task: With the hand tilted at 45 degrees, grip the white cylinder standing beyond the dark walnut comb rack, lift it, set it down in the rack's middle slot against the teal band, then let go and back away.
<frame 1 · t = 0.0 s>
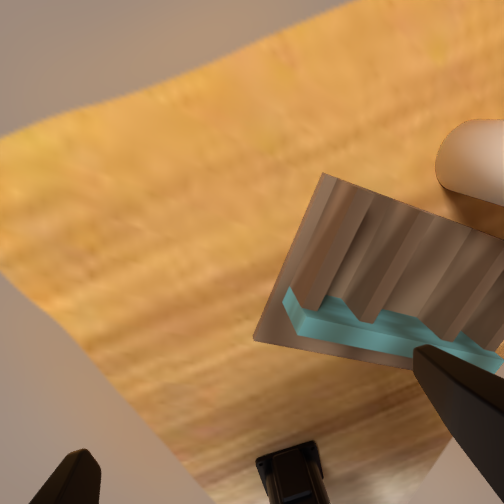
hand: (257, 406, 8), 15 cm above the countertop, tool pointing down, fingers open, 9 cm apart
white cylinder: (467, 156, 22), on the countertop
comb rack: (399, 275, 26), on the countertop
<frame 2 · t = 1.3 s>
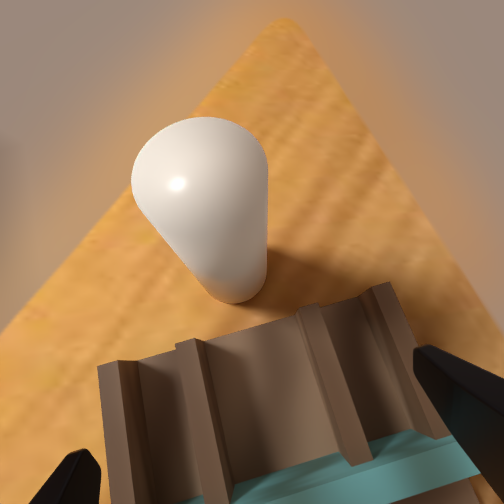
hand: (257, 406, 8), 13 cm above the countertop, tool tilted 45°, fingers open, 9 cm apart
white cylinder: (233, 270, 24), on the countertop
comb rack: (272, 412, 20), on the countertop
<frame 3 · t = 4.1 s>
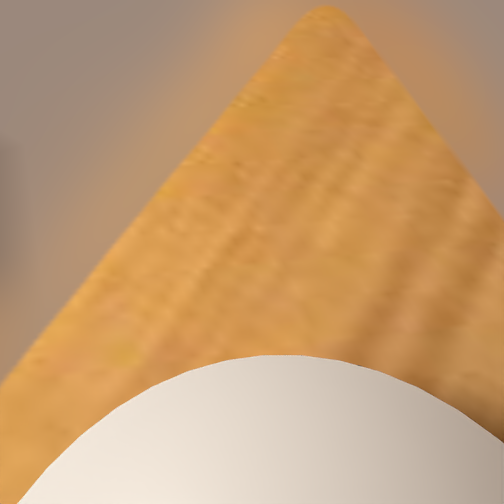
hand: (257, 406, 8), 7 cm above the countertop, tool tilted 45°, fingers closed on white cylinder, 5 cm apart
white cylinder: (269, 420, 14), on the countertop, touching gripper
when the fingers open (9 cm above the countertop, at t = 8.4 s): white cylinder drops 1 cm, resting on comb rack.
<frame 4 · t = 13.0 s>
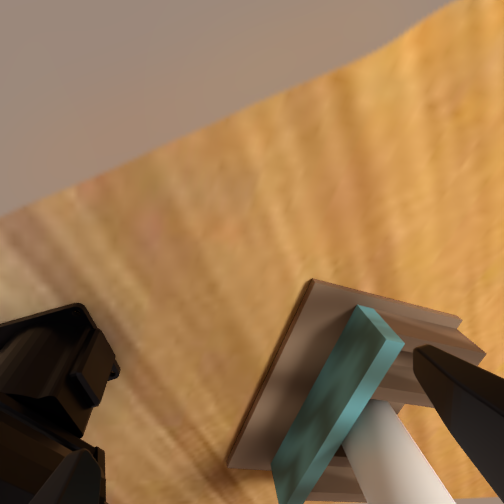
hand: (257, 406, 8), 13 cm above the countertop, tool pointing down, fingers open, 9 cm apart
white cylinder: (352, 399, 28), point 1 cm above the countertop, touching comb rack
comb rack: (350, 394, 28), on the countertop
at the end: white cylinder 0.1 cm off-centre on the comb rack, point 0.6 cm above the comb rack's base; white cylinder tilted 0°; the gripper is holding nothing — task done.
